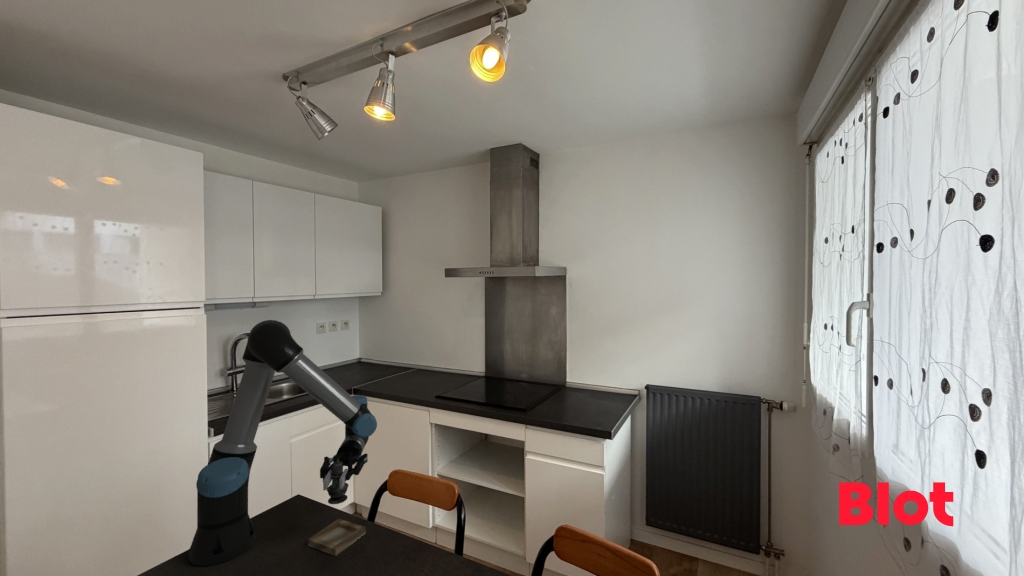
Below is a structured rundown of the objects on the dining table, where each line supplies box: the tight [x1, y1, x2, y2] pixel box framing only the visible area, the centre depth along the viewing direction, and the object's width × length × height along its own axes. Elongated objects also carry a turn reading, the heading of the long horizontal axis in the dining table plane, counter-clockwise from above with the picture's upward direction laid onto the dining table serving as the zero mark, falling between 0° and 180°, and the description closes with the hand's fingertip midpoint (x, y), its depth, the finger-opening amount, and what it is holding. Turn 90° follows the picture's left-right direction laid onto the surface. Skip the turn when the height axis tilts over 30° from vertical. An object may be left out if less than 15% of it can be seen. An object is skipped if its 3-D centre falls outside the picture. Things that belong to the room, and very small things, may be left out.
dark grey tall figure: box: [326, 459, 350, 505], centre depth 115 cm, size 6×6×12 cm
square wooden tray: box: [307, 518, 367, 557], centre depth 115 cm, size 11×11×2 cm
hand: (332, 484), depth 110 cm, fingers closed on dark grey tall figure, 4 cm apart
